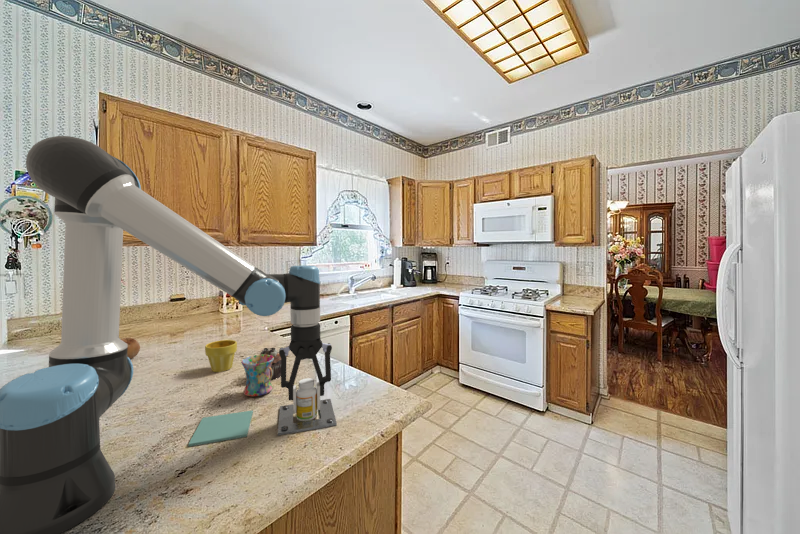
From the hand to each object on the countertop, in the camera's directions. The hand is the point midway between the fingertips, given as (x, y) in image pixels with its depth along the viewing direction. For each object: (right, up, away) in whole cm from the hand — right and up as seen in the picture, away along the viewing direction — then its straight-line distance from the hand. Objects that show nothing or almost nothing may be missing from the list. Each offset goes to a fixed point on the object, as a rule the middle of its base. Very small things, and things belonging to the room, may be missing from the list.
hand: (306, 409), depth 84 cm
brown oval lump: (-88, 0, +45) cm, 99 cm away
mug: (-18, -2, +14) cm, 23 cm away
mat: (-19, -2, -5) cm, 20 cm away
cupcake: (-21, -1, +28) cm, 35 cm away
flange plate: (0, -2, 0) cm, 2 cm away
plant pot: (-42, -1, +34) cm, 54 cm away
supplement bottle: (0, -2, 0) cm, 2 cm away
